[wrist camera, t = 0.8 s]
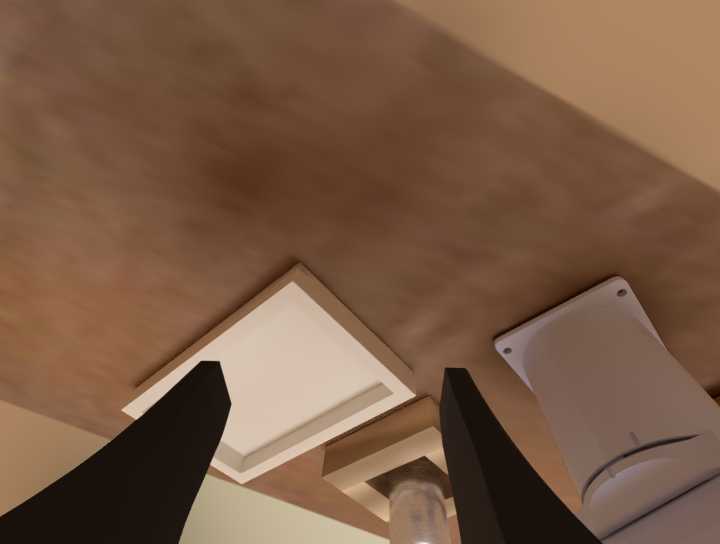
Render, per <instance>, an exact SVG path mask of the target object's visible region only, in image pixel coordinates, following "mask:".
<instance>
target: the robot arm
mask: <svg viewBox="0 0 720 544" xmlns="http://www.w3.org/2000/svg"><path fill="white" fill-rule="evenodd" d="M622 289H623V290H622ZM620 290H622V291H621V292H620V293H617V292H618V291H620ZM494 346H495V348H496V350H497V351H498V352H499V353H500V355H501V356H502V357H503V358H504V359H505V360H506V362H507V363H508V364H509V365H510V366H511V367H512V369H513V370H514V371H515V372H516V373H517V374H518V375H519V377H520V378H521V379H522V380H523V381H524V382H525V384H526V385H527V386H528V387H529V388H530V389H531V391H532V392H533V393H534V394H535V397H536V399H537V401H538V403H539V406H540V408H541V410H542V413H543V415H544V417H545V420H546V422H547V424H548V426H549V429H550V431H551V433H552V436H553V438H554V440H555V442H556V445H557V447H558V449H559V452H560V454H561V456H562V459H563V461H564V463H565V465H566V468H567V470H568V472H569V475H570V477H571V479H572V481H573V484H574V486H575V488H576V491H577V493H578V495H579V498H580V500H581V502H582V504H583V507H582V508H581V509H580V511H579V512H577V513H576V514H575V515H574V514H573V513H572V512H571V511H570V510H569V509H568V508H567V506H566V505H565V504H564V503H563V502H562V501H561V500H560V499H559V498H558V497H557V495H556V494H555V493H554V492H553V491H552V490H551V489H550V488H549V486H548V485H547V484H546V483H545V482H544V481H543V479H542V478H541V477H540V476H539V475H538V473H537V472H536V471H535V470H534V469H533V467H532V466H531V465H530V464H529V462H528V461H527V460H526V459H525V457H524V456H523V455H522V453H521V452H520V451H519V449H518V448H517V447H516V445H515V444H514V443H513V441H512V440H511V439H510V437H509V436H508V434H507V433H506V432H505V430H504V429H503V427H502V426H501V424H500V423H499V421H498V420H497V418H496V417H495V415H494V414H493V412H492V411H491V409H490V408H489V406H488V405H487V403H486V401H485V400H484V398H483V397H482V395H481V393H480V392H479V390H478V388H477V387H476V385H475V383H474V381H473V379H472V378H471V376H470V374H469V372H468V371H467V370H466V369H465V368H445V373H444V380H443V387H442V394H441V402H440V409H439V416H440V427H441V437H442V445H443V450H444V455H445V460H446V465H447V470H448V475H449V480H450V485H451V490H452V494H453V499H454V504H455V509H456V514H457V519H458V524H459V530H460V536H461V544H720V407H719V405H718V404H717V403H716V402H715V401H714V400H713V399H712V398H711V397H710V396H709V395H708V394H707V393H706V392H705V390H704V389H703V388H702V387H701V386H700V385H699V384H698V383H697V382H696V381H695V380H694V379H693V378H692V376H691V375H690V374H689V373H688V372H687V371H686V370H685V369H684V368H683V367H682V366H681V365H680V364H679V362H678V361H677V360H676V359H675V358H674V357H673V356H672V355H671V354H670V353H669V352H668V351H667V349H666V348H665V346H664V344H663V342H662V341H661V339H660V337H659V336H658V334H657V332H656V330H655V329H654V327H653V325H652V324H651V322H650V320H649V318H648V317H647V315H646V313H645V312H644V310H643V308H642V306H641V305H640V303H639V301H638V300H637V298H636V296H635V295H634V293H633V291H632V289H631V288H630V286H629V284H628V283H627V281H626V280H625V279H624V278H622V277H620V276H616V277H613V278H610V279H608V280H607V281H605V282H603V283H601V284H599V285H597V286H595V287H593V288H591V289H589V290H588V291H586V292H584V293H582V294H580V295H578V296H576V297H574V298H572V299H570V300H568V301H567V302H565V303H563V304H561V305H559V306H557V307H555V308H553V309H551V310H549V311H548V312H546V313H544V314H542V315H540V316H538V317H536V318H534V319H532V320H530V321H528V322H527V323H525V324H523V325H521V326H519V327H517V328H515V329H513V330H511V331H509V332H507V333H506V334H504V335H502V336H500V337H498V338H497V339H495V341H494ZM505 348H509V349H507V350H504V349H505ZM231 405H232V403H231V400H230V396H229V393H228V389H227V385H226V382H225V378H224V375H223V371H222V368H221V364H220V361H202V360H201V361H200V362H199V363H198V364H197V365H196V366H195V367H194V368H193V369H192V370H190V371H189V372H188V373H187V374H186V375H185V376H184V377H183V378H182V379H181V380H180V381H179V382H178V383H177V384H175V385H174V386H173V387H172V388H171V389H170V390H169V391H168V392H167V393H166V394H165V395H164V396H163V397H162V398H160V399H159V400H158V401H157V402H156V403H155V404H154V405H153V406H152V407H150V408H149V409H148V410H147V411H146V412H145V413H144V414H143V415H142V416H140V417H139V418H138V419H137V420H136V421H134V422H133V423H132V424H131V425H130V426H129V427H127V428H126V429H125V430H124V431H123V432H121V433H120V434H119V435H118V436H117V437H115V438H114V439H113V440H112V441H111V442H109V443H108V444H107V445H106V446H104V447H103V448H102V449H100V450H99V451H98V452H96V453H95V454H94V455H92V456H91V457H90V458H88V459H87V460H86V461H84V462H83V463H81V464H80V465H79V466H77V467H76V468H75V469H73V470H72V471H70V472H69V473H68V474H66V475H64V476H63V477H62V478H60V479H58V480H57V481H56V482H54V483H52V484H51V485H49V486H48V487H46V488H45V489H43V490H42V491H41V492H39V493H37V494H36V495H34V496H33V497H31V498H30V499H28V500H27V501H25V502H23V503H22V504H20V505H19V506H17V507H15V508H14V509H12V510H10V511H9V512H7V513H6V514H4V515H2V516H1V517H0V544H178V543H179V540H180V537H181V534H182V531H183V528H184V525H185V522H186V520H187V517H188V515H189V512H190V510H191V507H192V504H193V502H194V500H195V498H196V496H197V493H198V491H199V489H200V486H201V484H202V482H203V480H204V477H205V475H206V473H207V470H208V468H209V466H210V464H211V461H212V459H213V457H214V454H215V452H216V450H217V447H218V445H219V443H220V440H221V438H222V435H223V432H224V429H225V426H226V423H227V419H228V416H229V412H230V409H231Z"/></svg>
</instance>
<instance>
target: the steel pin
mask: <svg viewBox="0 0 720 544" xmlns="http://www.w3.org/2000/svg"><path fill="white" fill-rule="evenodd" d="M389 519H390V544H451V541H450V533H449V526H448V519H447V512H446V504H445V497H444V490H443V483H442V476H441V469H440V468H439V467H438V466H437V465H436V464H434V463H433V462H432V461H431V460H430V459H428V458H427V457H426V456H422V457H420V458H418V459H415V460H413V461H411V462H408V463H406V464H404V465H401V466H399V467H397V468H394V469H392V470H390V471H389Z"/></svg>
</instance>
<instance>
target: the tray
mask: <svg viewBox="0 0 720 544" xmlns="http://www.w3.org/2000/svg"><path fill="white" fill-rule="evenodd" d="M201 360H202V361H220V364H221V368H222V371H223V375H224V378H225V382H226V385H227V389H228V393H229V396H230V400H231V403H232V405H231V409H230V412H229V416H228V419H227V423H226V426H225V429H224V432H223V435H222V438H221V440H220V443H219V445H218V447H217V450H216V452H215V454H214V457H213V459H212V461H211V464H210V465H212V466H213V467H215V468H217V469H218V470H220V471H221V472H223V473H225V474H226V475H228V476H230V477H231V478H233V479H235V480H236V481H238V482H239V483H241V484H243V483H245V482H247V481H249V480H251V479H253V478H255V477H257V476H259V475H261V474H263V473H265V472H267V471H269V470H271V469H273V468H274V467H276V466H278V465H280V464H282V463H284V462H286V461H288V460H290V459H292V458H294V457H296V456H298V455H300V454H302V453H304V452H306V451H308V450H310V449H312V448H314V447H316V446H318V445H320V444H322V443H324V442H326V441H328V440H330V439H332V438H334V437H336V436H338V435H340V434H342V433H344V432H346V431H348V430H350V429H351V428H353V427H355V426H357V425H359V424H361V423H363V422H365V421H367V420H369V419H371V418H373V417H375V416H377V415H379V414H381V413H383V412H385V411H387V410H389V409H391V408H393V407H395V406H397V405H399V404H401V403H403V402H405V401H407V400H409V399H411V398H413V397H415V396H416V389H415V379H414V372H413V371H412V370H411V369H410V368H409V367H408V366H407V365H406V364H405V363H404V362H403V361H402V360H401V359H400V358H399V357H397V356H396V355H395V354H394V353H393V352H392V351H391V350H390V349H389V348H388V347H387V346H386V345H385V344H384V343H383V342H382V341H381V340H380V339H379V338H378V337H377V336H376V335H375V334H374V333H373V332H372V331H371V330H369V329H368V328H367V327H366V326H365V325H364V324H363V323H362V322H361V321H360V320H359V319H358V318H357V317H356V316H355V315H354V314H353V313H352V312H351V311H350V310H349V309H348V308H347V307H346V306H345V305H344V304H343V303H341V302H340V301H339V300H338V299H337V298H336V297H335V296H334V295H333V294H332V293H331V292H330V291H329V290H328V289H327V288H326V287H325V286H324V285H323V284H322V283H321V282H320V281H319V280H318V279H317V278H316V277H315V276H314V275H312V274H311V273H310V272H309V271H308V270H307V269H306V268H305V267H304V266H303V265H302V264H301V263H300V262H299V263H298V264H297V265H295V266H294V267H293V268H291V269H290V270H289V271H287V272H286V273H285V274H284V275H282V276H281V277H280V278H278V279H277V280H276V281H274V282H273V283H272V284H271V285H269V286H268V287H267V288H265V289H264V290H263V291H262V292H260V293H259V294H258V295H256V296H255V297H254V298H252V299H251V300H250V301H249V302H247V303H246V304H245V305H243V306H242V307H241V308H239V309H238V310H237V311H236V312H234V313H233V314H232V315H230V316H229V317H228V318H226V319H225V320H224V321H223V322H221V323H220V324H219V325H217V326H216V327H215V328H214V329H212V330H211V331H210V332H208V333H207V334H206V335H204V336H203V337H202V338H201V339H199V340H198V341H197V342H195V343H194V344H193V345H191V346H190V347H189V348H188V349H186V350H185V351H184V352H182V353H181V354H180V355H179V356H177V357H176V358H175V359H173V360H172V361H171V362H169V363H168V364H167V365H166V366H164V367H163V368H162V369H160V370H159V371H158V372H156V373H155V374H154V375H153V376H151V377H150V378H149V379H147V380H146V381H145V382H143V383H142V384H141V385H140V386H138V387H137V388H136V389H135V391H134V392H133V394H132V395H131V397H130V398H129V399H128V401H127V402H126V404H125V405H124V406H123V408H122V409H121V411H123V412H125V413H126V414H128V415H129V416H131V417H133V418H134V419H136V420H137V419H138V418H139V417H140V416H142V415H143V414H144V413H145V412H146V411H147V410H148V409H149V408H150V407H152V406H153V405H154V404H155V403H156V402H157V401H158V400H159V399H160V398H162V397H163V396H164V395H165V394H166V393H167V392H168V391H169V390H170V389H171V388H172V387H173V386H174V385H175V384H177V383H178V382H179V381H180V380H181V379H182V378H183V377H184V376H185V375H186V374H187V373H188V372H189V371H190V370H192V369H193V368H194V367H195V366H196V365H197V364H198V363H199V362H200V361H201Z"/></svg>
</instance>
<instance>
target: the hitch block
mask: <svg viewBox="0 0 720 544" xmlns="http://www.w3.org/2000/svg"><path fill="white" fill-rule="evenodd" d="M439 409H440V406H439V405H438V404H437V403H436V402H435V401H434V400H433V399H432V398H431V397H430V396H427V397H425V398H423V399H421V400H419V401H417V402H415V403H413V404H411V405H409V406H407V407H405V408H403V409H401V410H399V411H397V412H395V413H393V414H391V415H389V416H387V417H385V418H383V419H381V420H379V421H377V422H375V423H373V424H371V425H369V426H367V427H365V428H363V429H361V430H359V431H357V432H355V433H353V434H351V435H349V436H347V437H345V438H343V439H341V440H339V441H337V442H335V443H333V444H331V445H329V446H327V447H326V450H325V457H324V464H323V471H322V478H323V479H324V480H326V481H327V482H329V483H330V484H332V485H333V486H335V487H336V488H338V489H339V490H340V491H342V492H343V493H345V494H346V495H348V496H349V497H351V498H352V499H354V500H355V501H356V502H358V503H359V504H361V505H362V506H364V507H365V508H367V509H368V510H370V511H371V512H372V513H374V514H375V515H377V516H378V517H380V518H381V519H383V520H384V521H386V522H387V523H388V524H390V519H389V471H390V470H392V469H394V468H397V467H399V466H401V465H404V464H406V463H408V462H411V461H413V460H415V459H418V458H420V457H422V456H426V457H427V458H428V459H430V460H431V461H432V462H433V463H434V464H436V465H437V466H438V467H439V468H440V469H441V476H442V483H443V490H444V497H445V504H446V512H447V517H450V516H453V515H456V509H455V504H454V499H453V494H452V490H451V485H450V480H449V475H448V470H447V465H446V460H445V455H444V450H443V445H442V437H441V427H440V416H439Z"/></svg>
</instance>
